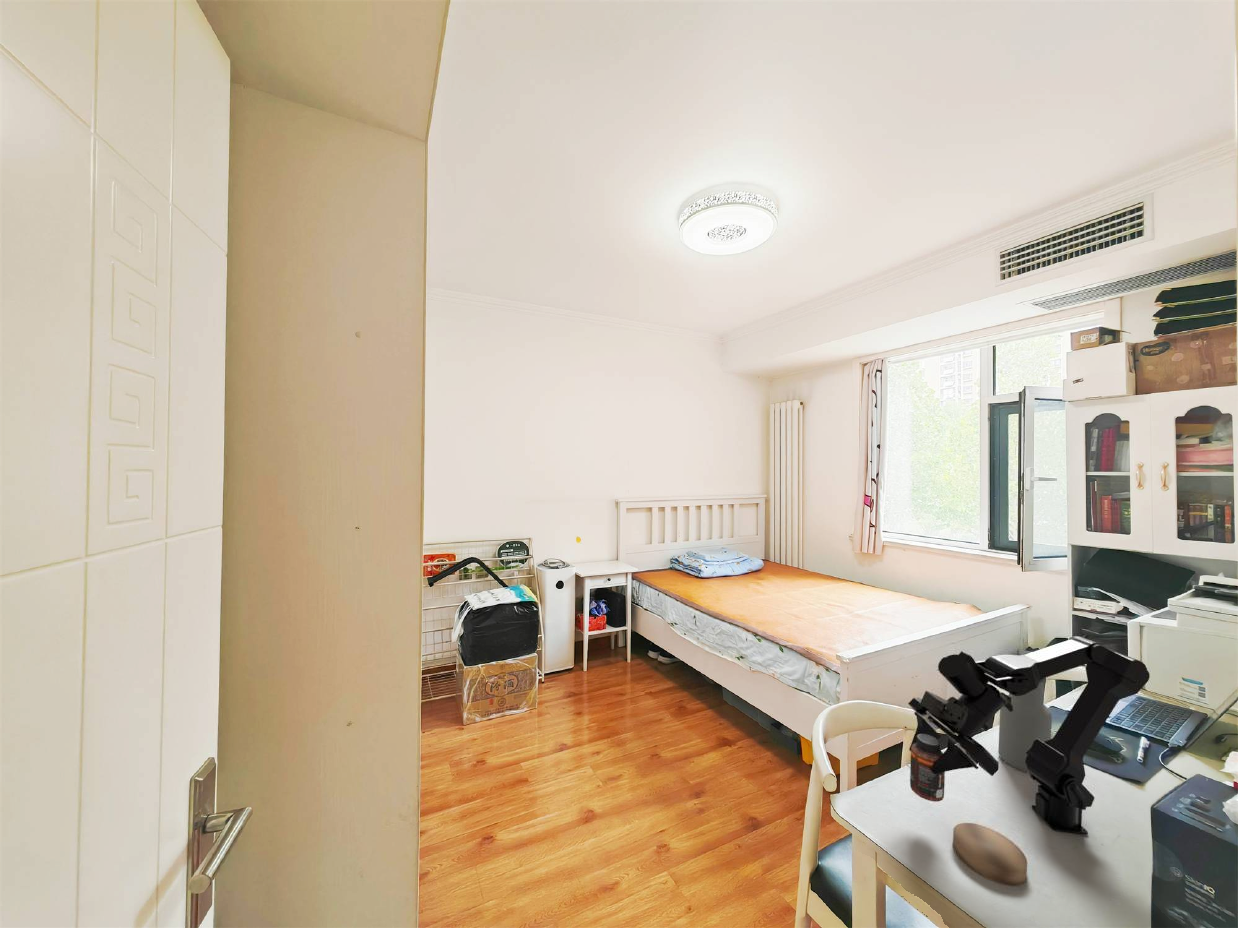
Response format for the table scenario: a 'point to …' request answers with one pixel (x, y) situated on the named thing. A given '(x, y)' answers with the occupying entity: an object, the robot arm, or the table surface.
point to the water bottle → (1023, 725)
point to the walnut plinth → (990, 854)
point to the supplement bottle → (926, 769)
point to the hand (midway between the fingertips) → (921, 761)
